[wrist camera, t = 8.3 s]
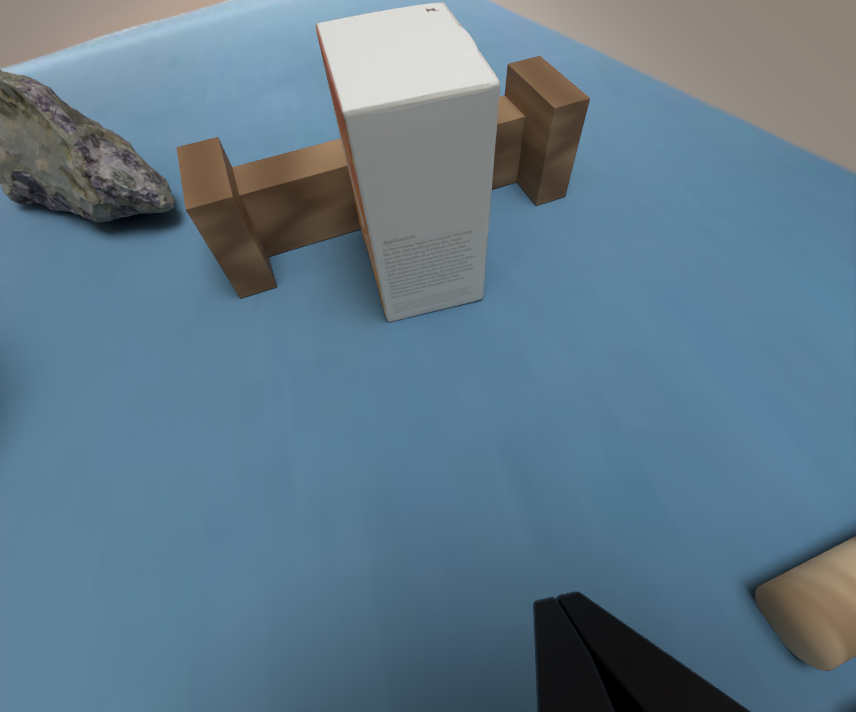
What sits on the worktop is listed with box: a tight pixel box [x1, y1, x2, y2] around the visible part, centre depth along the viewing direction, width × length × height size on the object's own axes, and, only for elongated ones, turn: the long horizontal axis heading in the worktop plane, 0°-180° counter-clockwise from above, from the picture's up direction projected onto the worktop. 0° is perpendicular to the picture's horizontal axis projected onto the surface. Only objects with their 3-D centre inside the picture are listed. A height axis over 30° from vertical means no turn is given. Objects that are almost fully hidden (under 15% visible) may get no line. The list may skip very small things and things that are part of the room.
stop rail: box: [177, 56, 590, 298], centre depth 29 cm, size 24×6×7 cm, turn 112°
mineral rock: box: [0, 70, 175, 223], centre depth 30 cm, size 13×11×10 cm
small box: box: [316, 3, 500, 322], centre depth 24 cm, size 8×6×13 cm
